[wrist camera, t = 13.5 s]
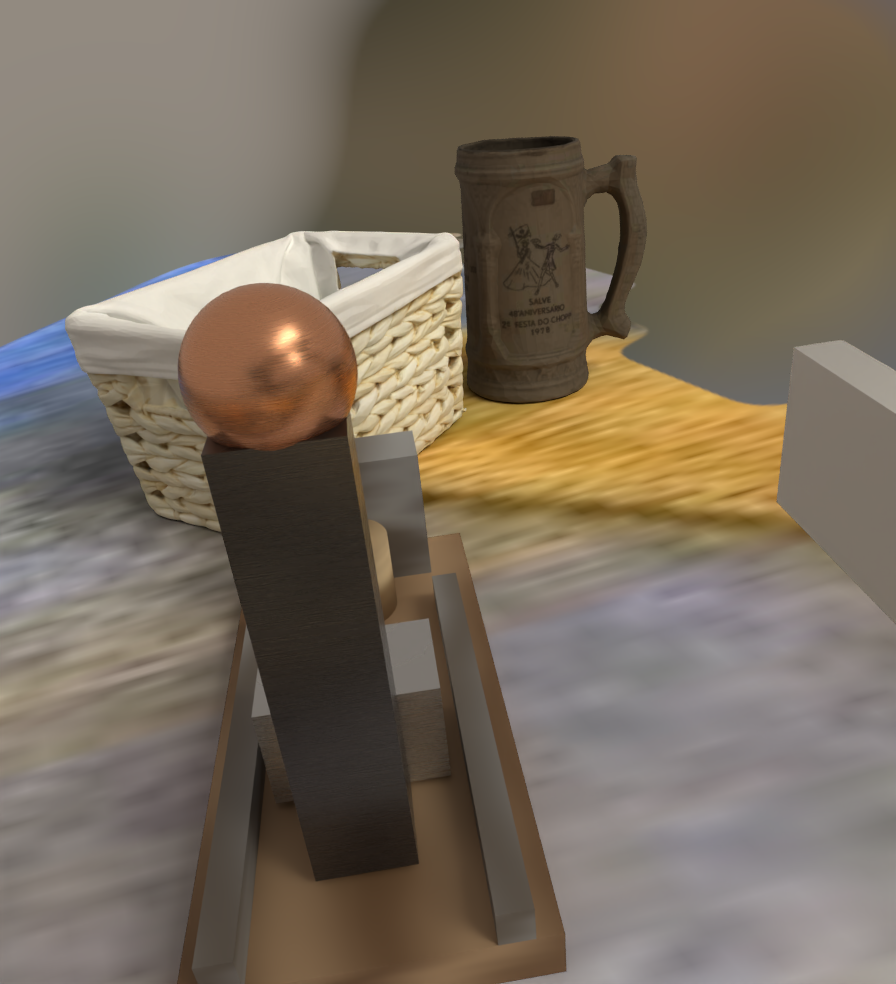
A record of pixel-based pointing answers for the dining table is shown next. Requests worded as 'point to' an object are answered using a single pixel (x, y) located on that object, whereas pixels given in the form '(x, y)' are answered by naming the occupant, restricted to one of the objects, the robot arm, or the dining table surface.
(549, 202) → the beer stein
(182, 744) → the dining table surface
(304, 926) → the base
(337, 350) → the handle
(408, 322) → the storage basket
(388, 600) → the tan rounded cylinder
